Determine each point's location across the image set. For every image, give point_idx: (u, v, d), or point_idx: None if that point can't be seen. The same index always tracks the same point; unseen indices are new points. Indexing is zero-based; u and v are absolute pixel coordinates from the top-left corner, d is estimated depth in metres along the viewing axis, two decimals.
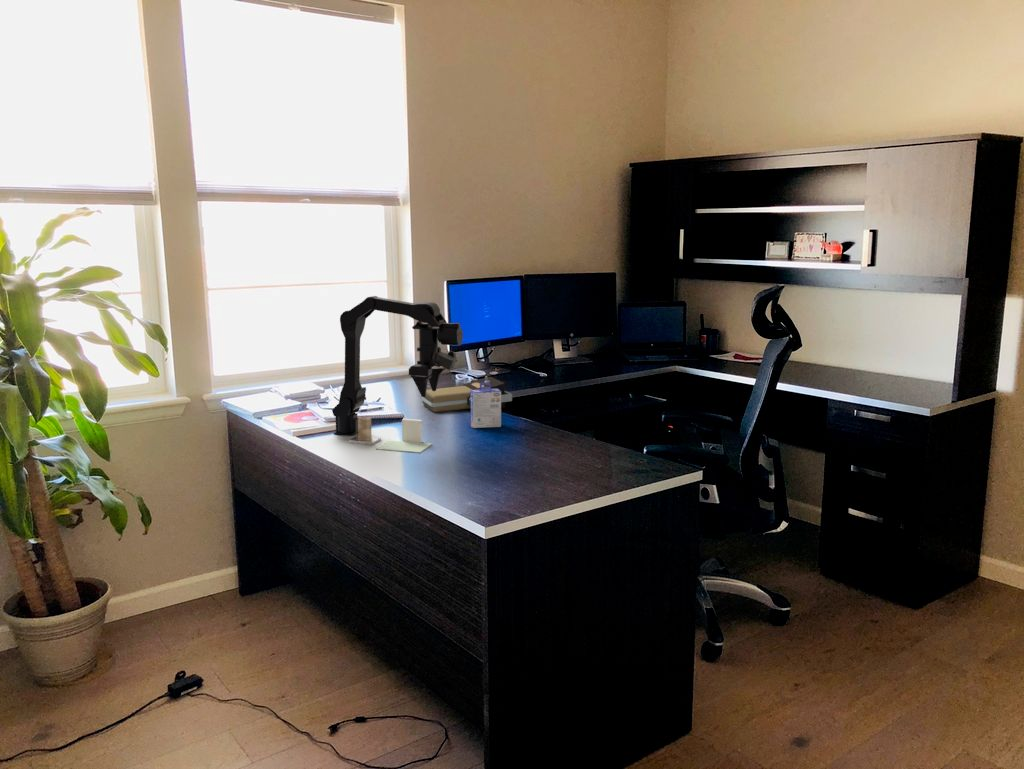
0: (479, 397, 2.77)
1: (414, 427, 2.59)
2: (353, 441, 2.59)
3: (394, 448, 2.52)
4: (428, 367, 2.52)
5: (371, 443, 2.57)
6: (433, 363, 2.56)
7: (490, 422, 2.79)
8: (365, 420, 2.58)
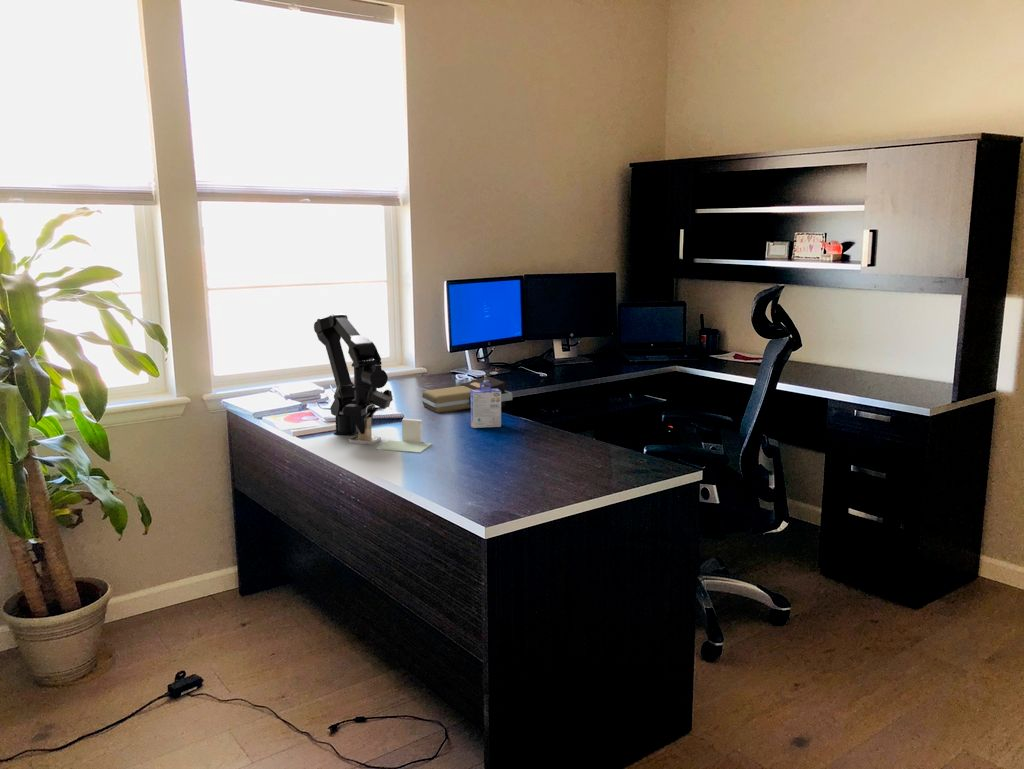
0: (479, 397, 2.77)
1: (414, 427, 2.59)
2: (353, 440, 2.58)
3: (394, 448, 2.52)
4: (362, 407, 2.51)
5: (371, 442, 2.57)
6: (368, 402, 2.55)
7: (490, 422, 2.79)
8: None
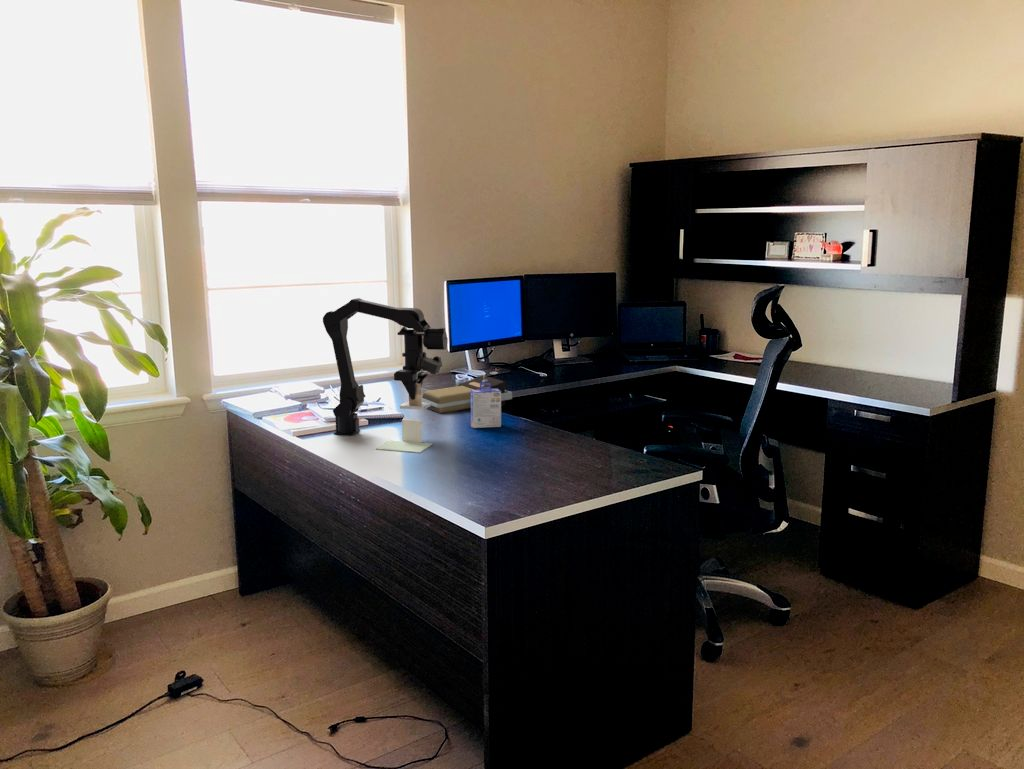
0: (479, 397, 2.77)
1: (414, 427, 2.59)
2: (404, 406, 2.63)
3: (394, 448, 2.52)
4: (413, 372, 2.55)
5: (422, 408, 2.61)
6: (418, 368, 2.59)
7: (490, 422, 2.79)
8: None
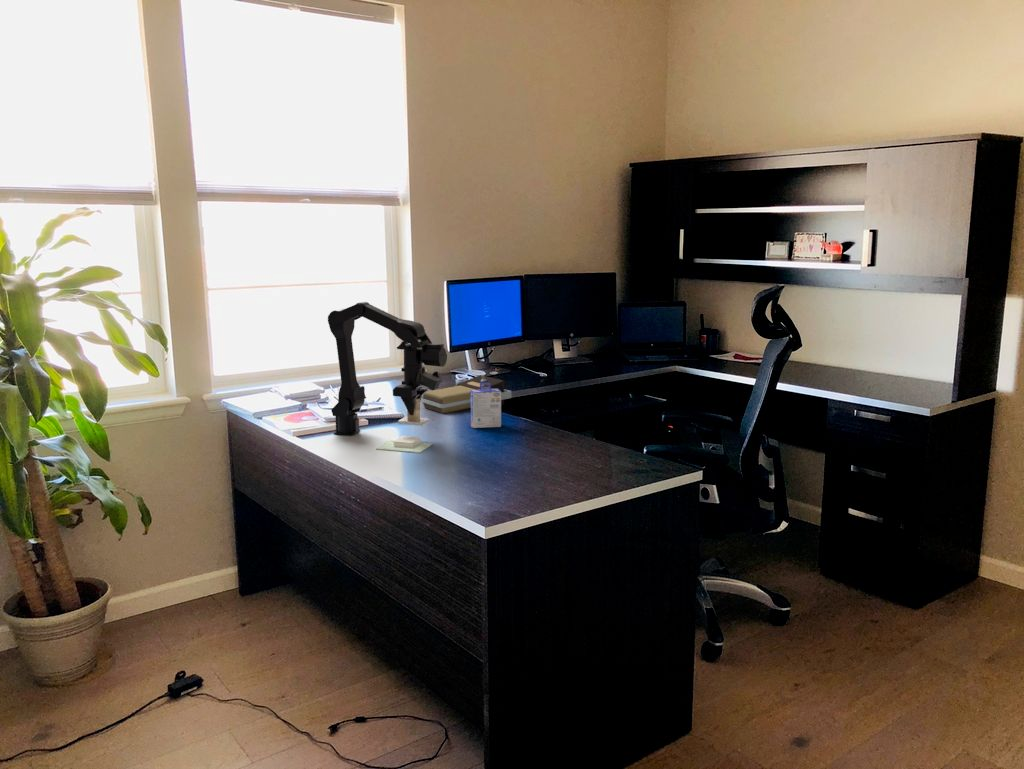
0: (479, 397, 2.77)
1: None
2: (402, 422, 2.59)
3: (394, 448, 2.52)
4: (412, 388, 2.52)
5: (420, 424, 2.58)
6: (417, 383, 2.56)
7: (490, 422, 2.79)
8: None
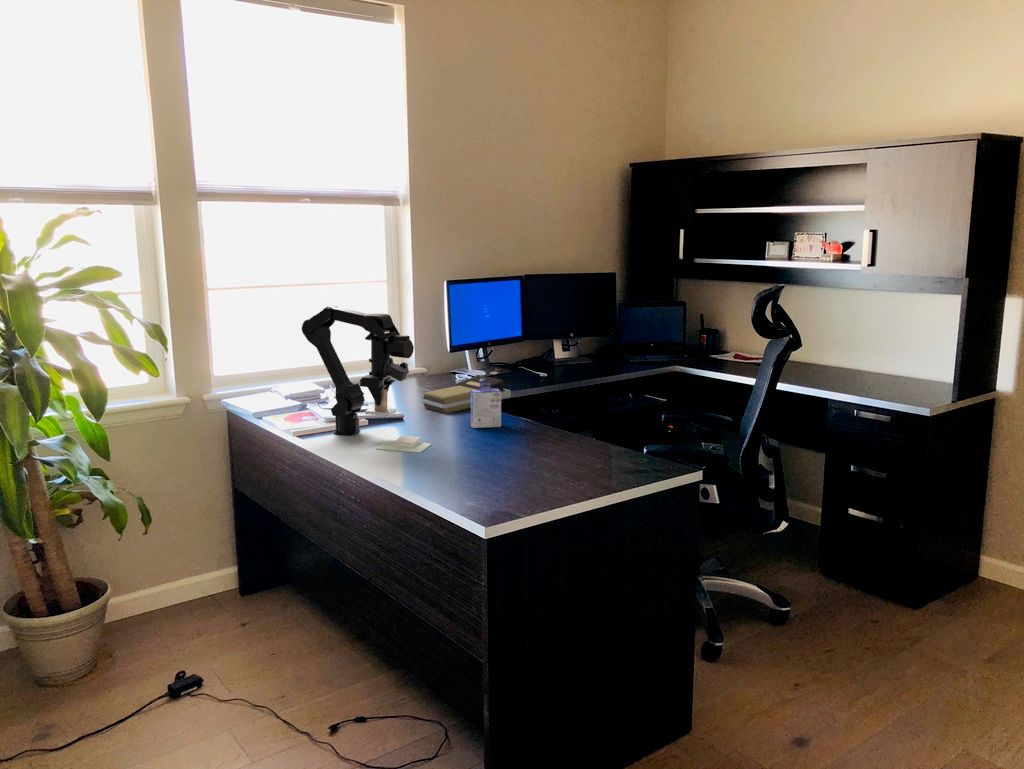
0: (479, 397, 2.77)
1: None
2: (369, 412, 2.61)
3: (394, 448, 2.52)
4: (379, 378, 2.54)
5: (387, 414, 2.60)
6: (385, 374, 2.58)
7: (490, 422, 2.79)
8: (382, 391, 2.61)
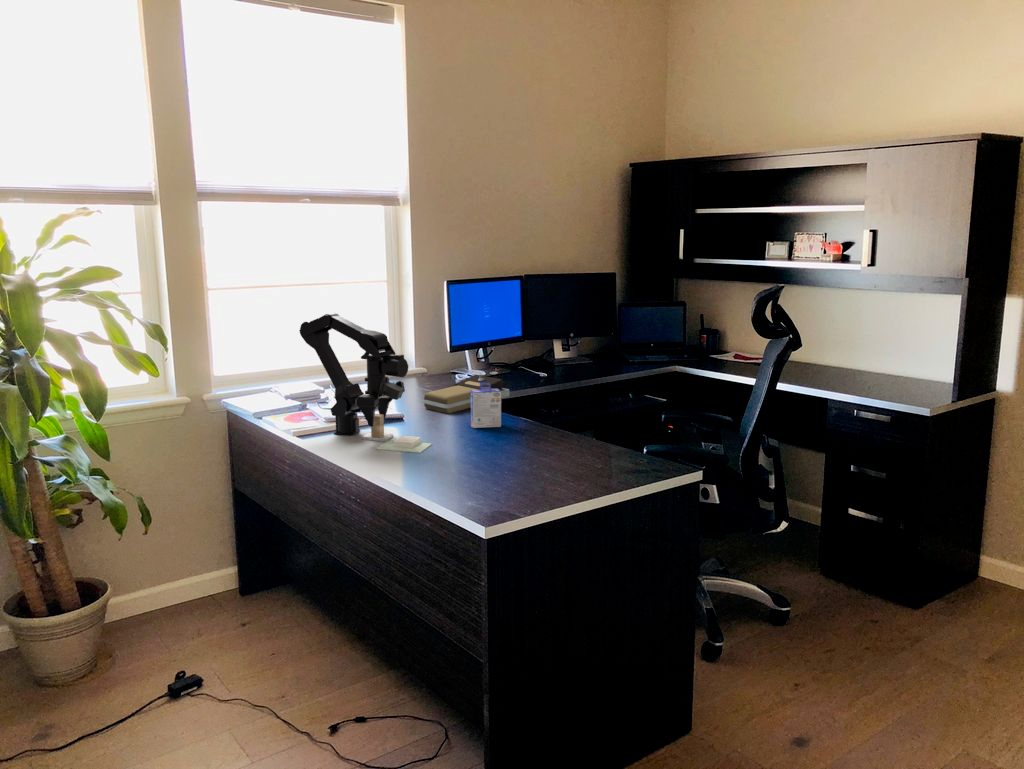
0: (479, 397, 2.77)
1: None
2: (366, 437, 2.63)
3: (394, 448, 2.52)
4: (374, 398, 2.55)
5: (384, 439, 2.61)
6: (380, 393, 2.59)
7: (490, 422, 2.79)
8: (378, 417, 2.62)
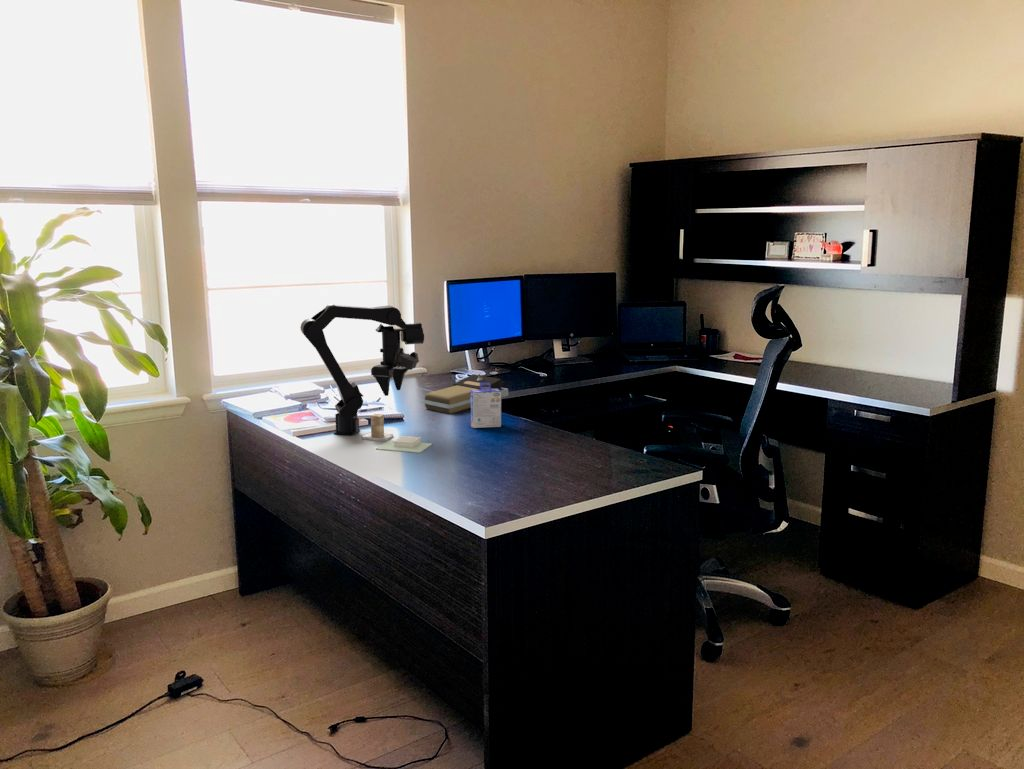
0: (479, 397, 2.77)
1: None
2: (366, 437, 2.63)
3: (394, 448, 2.52)
4: (389, 367, 2.64)
5: (384, 439, 2.61)
6: (395, 363, 2.68)
7: (490, 422, 2.79)
8: (378, 417, 2.62)
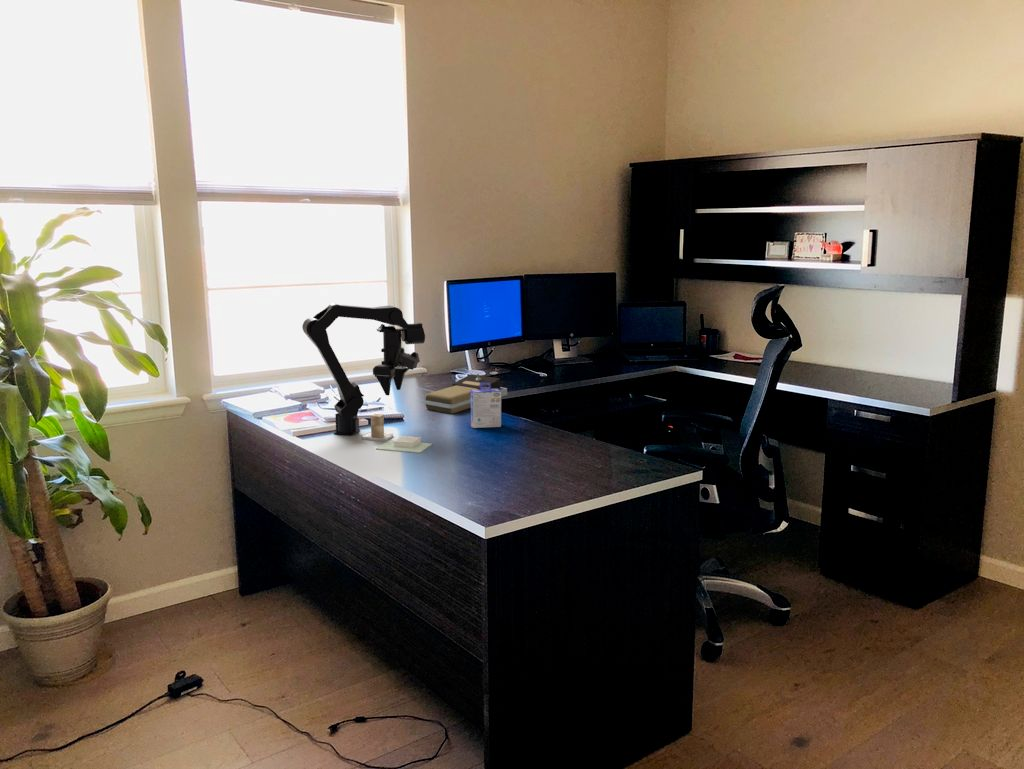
0: (479, 397, 2.77)
1: None
2: (366, 438, 2.63)
3: (394, 448, 2.52)
4: (391, 367, 2.66)
5: (384, 439, 2.61)
6: (396, 363, 2.70)
7: (490, 422, 2.79)
8: (378, 417, 2.62)
